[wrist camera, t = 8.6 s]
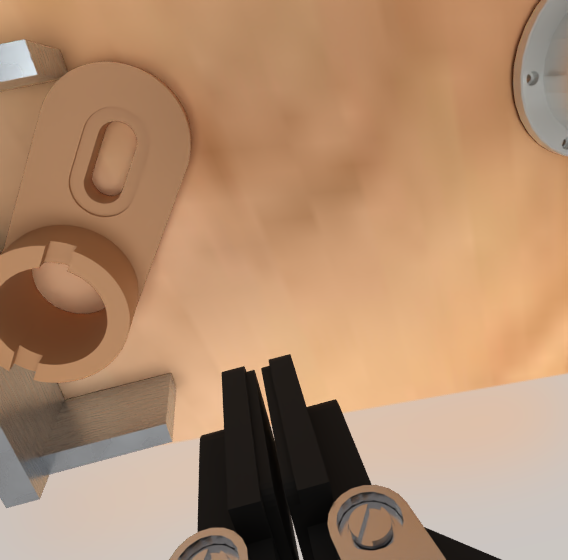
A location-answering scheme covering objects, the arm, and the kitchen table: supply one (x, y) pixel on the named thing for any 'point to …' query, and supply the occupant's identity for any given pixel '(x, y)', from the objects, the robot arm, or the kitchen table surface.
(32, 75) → the steel u-channel
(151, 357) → the kitchen table surface
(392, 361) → the kitchen table surface
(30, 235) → the bracket
